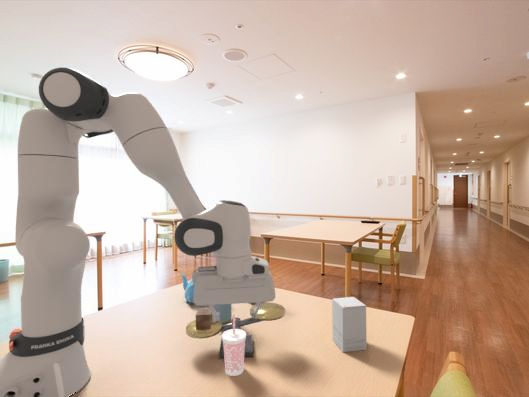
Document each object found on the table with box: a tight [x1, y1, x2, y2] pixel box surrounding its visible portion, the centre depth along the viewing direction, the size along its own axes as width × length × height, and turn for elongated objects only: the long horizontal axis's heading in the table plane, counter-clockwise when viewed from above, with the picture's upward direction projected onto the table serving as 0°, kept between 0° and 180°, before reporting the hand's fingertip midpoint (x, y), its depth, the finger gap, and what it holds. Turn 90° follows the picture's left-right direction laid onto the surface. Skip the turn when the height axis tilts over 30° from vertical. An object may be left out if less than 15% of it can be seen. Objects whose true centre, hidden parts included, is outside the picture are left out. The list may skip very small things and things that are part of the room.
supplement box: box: [331, 296, 367, 353], centre depth 81 cm, size 7×7×13 cm
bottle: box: [212, 304, 233, 325], centre depth 96 cm, size 7×7×15 cm
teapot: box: [180, 273, 195, 304], centre depth 118 cm, size 15×15×10 cm
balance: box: [185, 302, 286, 360], centre depth 79 cm, size 28×10×11 cm, turn 95°
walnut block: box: [195, 308, 212, 330], centre depth 79 cm, size 4×4×4 cm
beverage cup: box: [221, 314, 247, 377], centre depth 70 cm, size 6×6×14 cm
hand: (235, 319), depth 70 cm, fingers open, 8 cm apart
